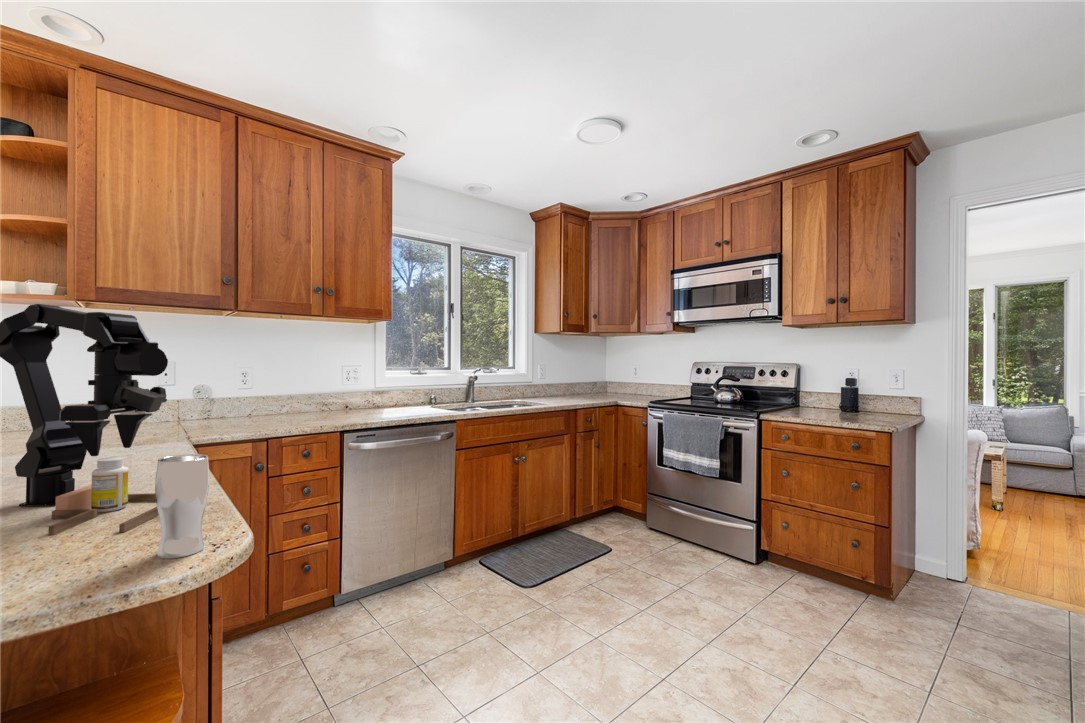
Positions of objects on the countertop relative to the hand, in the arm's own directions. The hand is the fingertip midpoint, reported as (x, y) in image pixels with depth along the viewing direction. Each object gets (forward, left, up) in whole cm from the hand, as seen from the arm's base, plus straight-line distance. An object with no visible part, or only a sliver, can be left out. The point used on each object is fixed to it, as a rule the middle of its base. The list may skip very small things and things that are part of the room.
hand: (111, 451), depth 98 cm
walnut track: (+3, -5, -12) cm, 13 cm away
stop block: (-5, 0, -12) cm, 13 cm away
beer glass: (+26, -25, -12) cm, 38 cm away
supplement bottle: (0, 0, -12) cm, 12 cm away
